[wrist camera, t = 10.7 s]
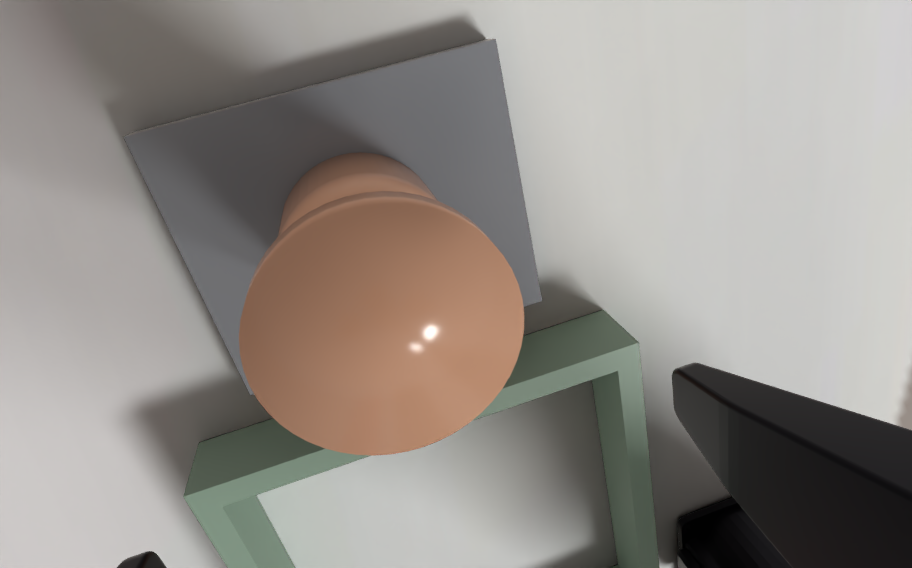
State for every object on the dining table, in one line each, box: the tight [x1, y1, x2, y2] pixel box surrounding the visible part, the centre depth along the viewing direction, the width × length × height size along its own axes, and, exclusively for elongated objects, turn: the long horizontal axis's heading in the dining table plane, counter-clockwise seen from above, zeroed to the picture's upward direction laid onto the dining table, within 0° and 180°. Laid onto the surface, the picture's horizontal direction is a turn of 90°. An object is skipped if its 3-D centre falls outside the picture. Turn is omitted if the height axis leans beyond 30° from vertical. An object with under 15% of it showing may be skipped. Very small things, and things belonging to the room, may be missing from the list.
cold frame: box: [183, 310, 659, 568], centre depth 26 cm, size 18×18×3 cm
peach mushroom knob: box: [239, 152, 524, 455], centre depth 16 cm, size 6×6×8 cm
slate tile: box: [123, 39, 542, 395], centre depth 20 cm, size 12×10×1 cm
